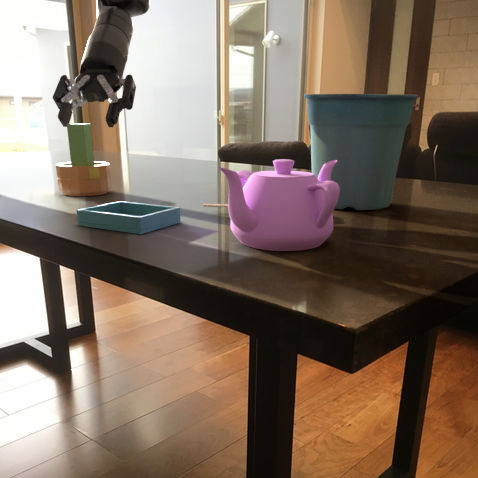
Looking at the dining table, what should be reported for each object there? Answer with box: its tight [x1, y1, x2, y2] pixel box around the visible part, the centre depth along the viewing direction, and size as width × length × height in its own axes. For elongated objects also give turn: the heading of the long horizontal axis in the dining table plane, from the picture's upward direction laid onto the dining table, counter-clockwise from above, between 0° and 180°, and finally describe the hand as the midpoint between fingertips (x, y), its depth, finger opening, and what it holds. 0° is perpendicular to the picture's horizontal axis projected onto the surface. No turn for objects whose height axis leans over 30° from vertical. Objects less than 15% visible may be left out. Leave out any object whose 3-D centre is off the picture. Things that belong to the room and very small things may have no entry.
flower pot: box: [303, 93, 419, 211], centre depth 79 cm, size 16×16×16 cm
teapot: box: [218, 158, 340, 252], centre depth 57 cm, size 12×14×9 cm
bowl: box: [55, 161, 113, 197], centre depth 92 cm, size 9×9×5 cm
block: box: [66, 122, 95, 166], centre depth 90 cm, size 3×3×11 cm
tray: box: [75, 200, 182, 235], centre depth 67 cm, size 10×8×2 cm
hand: (86, 123), depth 91 cm, fingers open, 8 cm apart
